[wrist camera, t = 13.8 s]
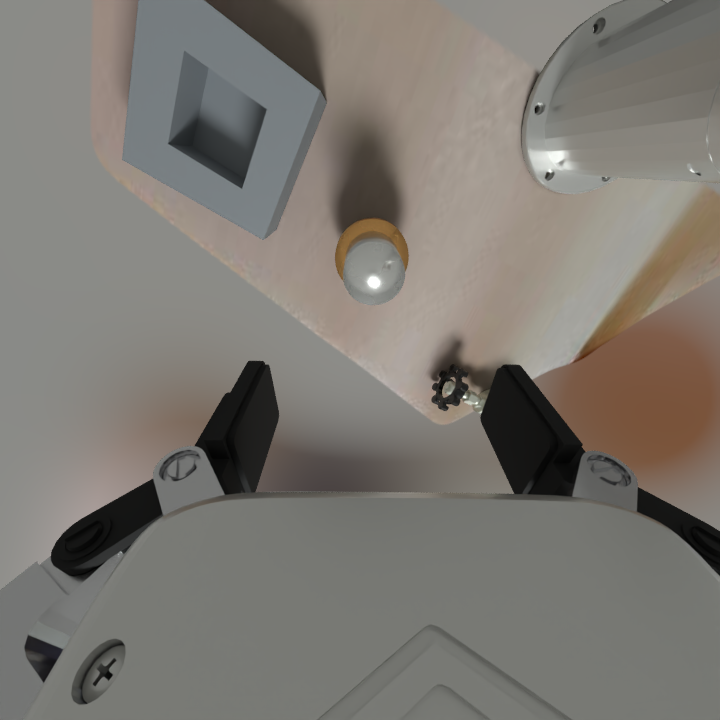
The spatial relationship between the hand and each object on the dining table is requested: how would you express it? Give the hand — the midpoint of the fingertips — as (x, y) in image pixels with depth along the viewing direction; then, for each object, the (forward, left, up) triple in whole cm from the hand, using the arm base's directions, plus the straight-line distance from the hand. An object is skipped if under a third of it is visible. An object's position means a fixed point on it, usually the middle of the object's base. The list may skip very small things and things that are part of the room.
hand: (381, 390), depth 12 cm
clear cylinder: (0, 0, -24) cm, 24 cm away
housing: (+12, -10, -24) cm, 29 cm away
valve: (-17, +20, -25) cm, 36 cm away
